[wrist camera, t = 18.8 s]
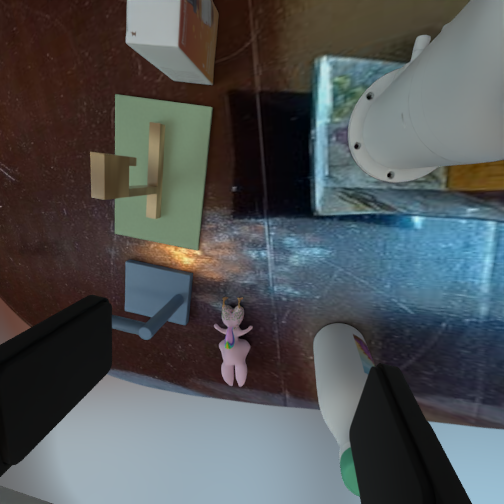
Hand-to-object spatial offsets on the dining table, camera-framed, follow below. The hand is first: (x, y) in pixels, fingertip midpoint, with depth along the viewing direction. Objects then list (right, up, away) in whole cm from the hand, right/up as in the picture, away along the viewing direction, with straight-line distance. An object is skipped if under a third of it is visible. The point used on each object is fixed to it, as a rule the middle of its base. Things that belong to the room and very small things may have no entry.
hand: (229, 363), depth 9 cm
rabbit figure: (-2, -10, +35) cm, 37 cm away
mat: (-13, +15, +30) cm, 36 cm away
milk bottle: (+14, -10, +32) cm, 37 cm away
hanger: (-13, +15, +30) cm, 36 cm away
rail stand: (-15, -3, +35) cm, 38 cm away
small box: (-6, +30, +25) cm, 39 cm away
